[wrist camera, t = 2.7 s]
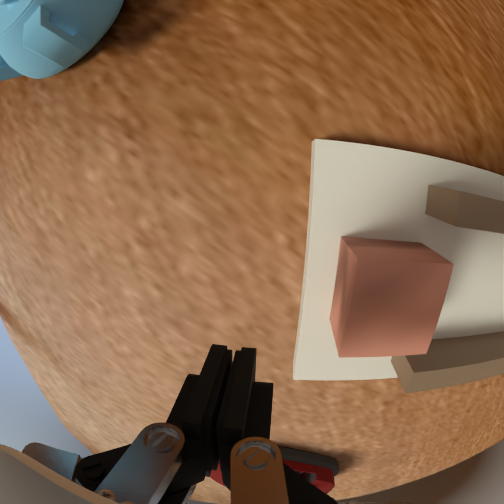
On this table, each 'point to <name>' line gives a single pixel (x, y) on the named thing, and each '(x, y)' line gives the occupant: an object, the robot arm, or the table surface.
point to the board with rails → (411, 230)
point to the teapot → (50, 34)
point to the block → (387, 297)
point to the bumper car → (303, 468)
